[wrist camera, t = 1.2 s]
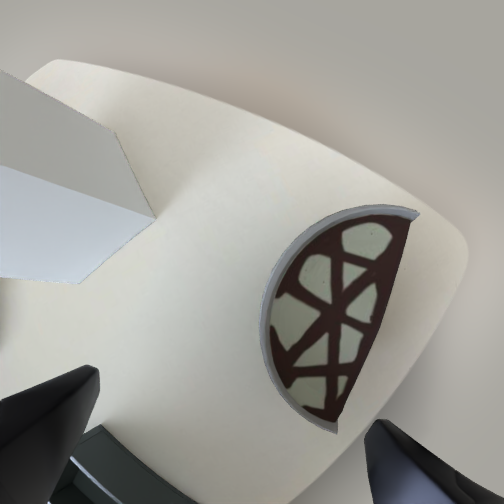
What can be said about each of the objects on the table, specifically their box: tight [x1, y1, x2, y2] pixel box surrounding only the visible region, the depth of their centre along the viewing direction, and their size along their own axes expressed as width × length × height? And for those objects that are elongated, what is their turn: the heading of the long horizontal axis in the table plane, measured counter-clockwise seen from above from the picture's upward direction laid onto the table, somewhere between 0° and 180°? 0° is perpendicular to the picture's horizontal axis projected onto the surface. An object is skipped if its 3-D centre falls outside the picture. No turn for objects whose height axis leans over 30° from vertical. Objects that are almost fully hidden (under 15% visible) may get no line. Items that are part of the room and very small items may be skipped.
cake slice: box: [259, 204, 420, 434], centre depth 18 cm, size 12×6×10 cm, turn 161°
